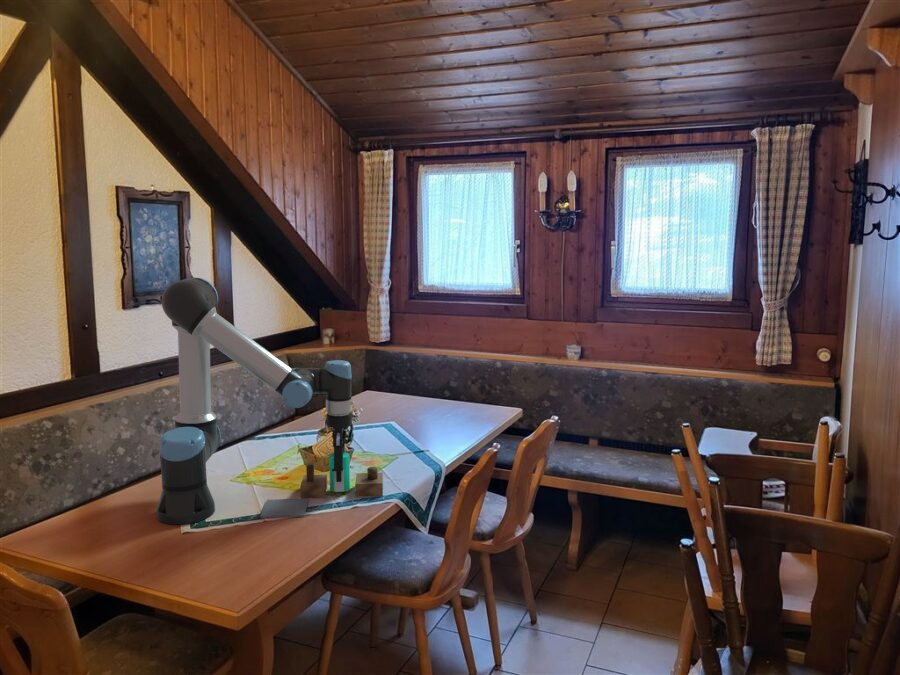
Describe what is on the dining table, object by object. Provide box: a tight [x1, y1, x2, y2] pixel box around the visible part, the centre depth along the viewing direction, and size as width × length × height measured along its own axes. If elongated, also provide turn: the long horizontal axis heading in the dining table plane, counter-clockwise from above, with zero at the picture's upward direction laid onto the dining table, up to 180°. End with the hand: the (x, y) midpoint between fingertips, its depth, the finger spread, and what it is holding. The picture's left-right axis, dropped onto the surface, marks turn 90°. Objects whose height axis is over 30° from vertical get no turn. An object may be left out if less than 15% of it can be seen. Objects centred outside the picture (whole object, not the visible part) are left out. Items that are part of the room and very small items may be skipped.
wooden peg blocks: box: [300, 462, 384, 499], centre depth 217 cm, size 24×9×9 cm, turn 95°
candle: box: [329, 452, 351, 493], centre depth 216 cm, size 6×6×12 cm
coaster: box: [259, 498, 310, 519], centre depth 204 cm, size 12×12×1 cm
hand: (339, 487), depth 217 cm, fingers closed on candle, 6 cm apart
